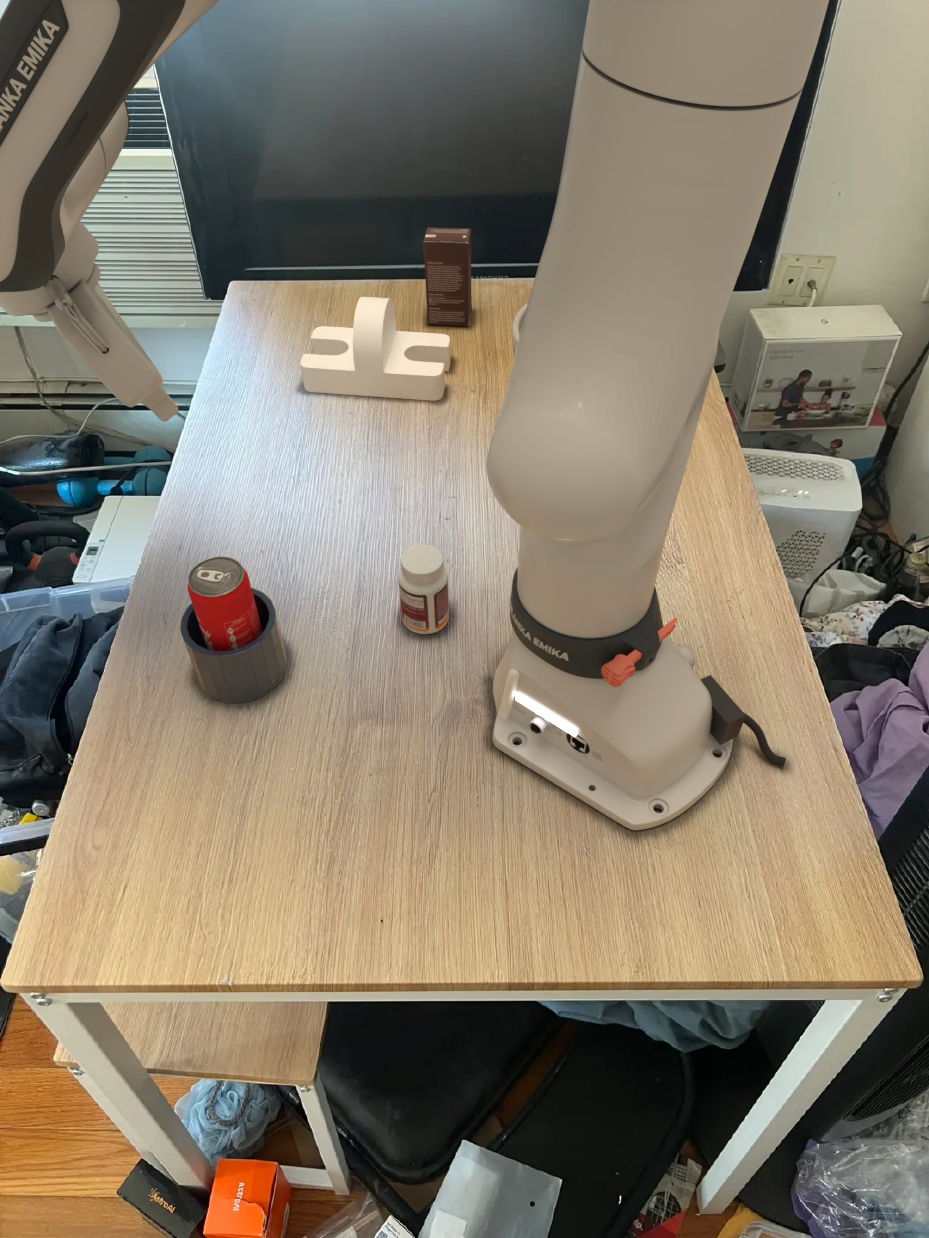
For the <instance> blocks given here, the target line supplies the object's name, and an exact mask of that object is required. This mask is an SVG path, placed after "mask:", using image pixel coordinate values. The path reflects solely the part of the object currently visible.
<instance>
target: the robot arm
mask: <svg viewBox="0 0 929 1238" xmlns="http://www.w3.org/2000/svg"><path fill="white" fill-rule="evenodd" d="M220 1H221V0H9V1H8V4H7V5H6V7H5V9H4V11H3V12H2V15H1V17H0V307H1V309H2V310H3V311H4V312H6V314H8V315H9V316H13V317H24V316H28V315H31V316H32V317H33V318H34V319H35V320H36V321H38V322H41V323H47V322H53V324H54V326H55V328H56V330H57V332H58V333H59V334H60V336H62V338H63V339H64V341H65V342H66V344H67V345H68V346H69V347H70V349H71V350H72V351H73V352H74V353H75V354H76V356H77V357H79V359H81V361H82V362H83V363H84V364H85V365H86V366H87V367H88V369H89V370H90V371H91V372H92V373H93V374H94V376H95V377H96V378H98V380H99V381H100V382H101V383H102V384H103V385H104V386H105V387H106V388H107V389H108V391H109V392H110V393H111V394H112V395H113V396H114V398H116V399H117V400H118V401H119V402H120V403H122V404H123V405H124V406H126V407H128V408H134V407H135V406H137V405H138V404H140V403H141V404H142V405H143V406H145V407H146V408H148V409H149V410H150V411H151V412H152V413H153V414H154V415H155V416H156V417H157V419H158V420H159V421H161V422H163V423H164V422H168V421H169V420H171V419H172V418H173V417H175V416H176V415H177V414H178V413H179V407H178V405H177V404H176V403H175V401H174V399H172V398H171V396H170V395H169V394H168V392H166V391H165V390H164V388H163V387H162V386H163V385H162V384H163V383H164V379H163V376H162V374H161V372H160V371H159V370H158V369H157V367H156V365H155V364H154V363H153V361H152V360H151V358H150V357H149V355H148V354H147V353H146V351H145V350H144V348H143V346H142V345H141V344H140V342H139V341H138V339H137V338H136V337H135V335H134V334H133V332H132V331H131V329H130V328H129V326H128V325H127V324H126V322H125V320H124V319H123V318H122V316H121V315H120V313H119V312H118V310H117V309H116V308H115V306H114V305H113V304H112V302H111V300H110V299H109V298H108V296H107V294H106V292H105V291H104V289H103V288H102V286H101V285H100V283H99V281H100V279H101V270H100V267H99V266H98V265H97V264H96V263H95V261H96V260H97V257H98V253H99V242H98V240H97V239H96V237H95V236H94V235H93V234H92V232H90V231H89V230H88V228H87V227H86V225H85V224H84V223H83V222H82V221H81V220H82V219H83V217H84V215H85V214H86V212H87V210H88V209H89V207H90V205H91V204H92V202H93V200H94V199H95V197H96V196H97V194H98V192H99V191H100V189H101V187H102V186H103V184H104V182H105V181H106V178H107V177H108V175H109V174H110V173H111V171H112V169H113V168H114V165H115V164H116V162H117V160H118V159H119V157H120V154H121V152H122V150H123V147H124V145H125V142H126V139H127V137H128V134H129V130H130V114H129V113H130V112H129V109H128V104H127V102H126V99H127V98H128V96H129V95H130V93H131V92H132V90H133V89H134V88H135V87H136V85H137V84H138V83H139V82H140V80H141V79H142V78H143V77H144V75H145V74H146V73H148V72H149V70H150V69H151V68H152V67H153V66H154V65H155V63H156V62H157V61H158V60H159V59H160V58H161V57H162V56H163V55H164V54H165V53H166V52H167V51H168V50H169V49H170V48H171V47H173V45H174V44H175V43H176V42H177V41H178V40H179V39H180V38H182V37H183V36H184V35H185V34H186V33H187V32H188V31H189V30H190V29H191V28H192V27H193V26H194V25H195V24H197V23H198V21H199V20H201V19H202V17H204V16H205V15H206V14H207V13H208V12H209V11H210V10H211V9H212V8H213V7H215V6H216V5H217V4H218V3H219V2H220ZM829 2H830V0H589V4H588V8H587V9H588V10H587V15H586V21H585V25H584V32H583V38H582V44H581V50H580V57H579V64H578V69H577V76H576V80H575V88H574V94H573V100H572V105H571V106H572V107H571V112H570V117H569V118H570V119H569V126H568V131H567V138H566V144H565V151H564V156H563V162H562V167H561V173H560V178H559V179H560V180H559V185H558V190H557V196H556V201H555V204H554V210H553V214H552V218H551V222H550V225H549V229H548V232H547V236H546V240H545V244H544V246H543V249H542V253H541V256H540V259H539V263H538V266H537V269H536V273H535V277H534V280H533V283H532V287H531V291H530V294H529V297H528V302H527V303H528V305H527V309H526V312H525V316H524V320H523V324H522V327H521V331H520V335H519V339H518V343H517V347H516V351H515V355H514V360H513V359H512V364H511V369H510V373H509V376H508V381H507V386H506V390H505V393H504V398H503V400H502V404H501V408H500V410H499V413H498V415H497V419H496V423H495V427H494V430H493V433H492V437H491V440H490V443H489V448H488V450H487V456H486V464H485V465H486V467H485V468H486V475H487V480H488V484H489V488H490V489H491V492H492V494H493V495H494V497H495V500H496V501H497V503H498V504H499V505H500V507H501V508H502V509H503V510H504V512H505V513H506V514H507V515H508V516H509V517H510V518H511V519H512V520H513V521H514V522H515V523H517V524H518V525H519V526H520V528H519V542H518V557H517V567H516V569H515V570H514V571H515V572H514V573H513V577H512V581H511V590H510V598H509V603H508V605H509V619H510V624H511V629H510V633H509V634H510V635H509V639H508V643H507V645H506V648H505V652H504V653H503V656H502V659H501V660H500V661H499V663H498V665H497V667H496V670H495V673H494V676H493V681H492V695H493V702H494V705H495V710H496V718H495V721H494V726H493V730H492V735H491V739H492V743H493V746H494V747H495V748H496V749H497V750H499V751H500V752H502V753H504V754H505V755H507V756H509V757H510V758H512V759H513V760H515V761H517V762H518V763H520V764H522V765H524V766H525V767H527V768H528V769H529V770H531V771H533V772H535V773H536V774H539V775H540V776H541V777H543V778H544V779H546V780H548V781H549V782H552V783H553V784H554V785H555V786H558V787H559V788H561V789H562V790H564V791H566V792H568V793H569V794H570V795H572V796H574V797H575V798H577V799H579V800H580V801H582V802H583V803H585V804H587V805H589V806H590V807H591V808H593V809H595V810H597V811H598V812H600V813H601V814H603V815H605V816H606V817H608V818H610V819H611V820H613V821H615V822H617V823H618V824H620V825H621V826H622V827H625V828H627V829H629V830H631V831H641V830H648V829H652V828H655V827H658V826H661V825H663V824H666V823H668V822H671V821H672V820H673V819H676V818H677V817H678V816H680V815H682V814H683V813H684V812H686V811H688V810H689V809H690V808H691V807H692V806H694V805H695V804H696V803H697V802H698V801H699V800H700V799H702V797H703V796H705V795H706V794H707V792H708V791H709V790H710V789H711V788H712V787H713V786H714V785H715V783H716V782H717V781H718V780H719V779H720V777H721V776H722V774H723V772H724V771H725V769H726V767H727V765H728V763H729V761H730V757H731V754H732V748H733V741H734V739H736V738H738V737H739V735H740V732H741V730H742V727H743V725H746V727H748V728H749V729H750V730H751V731H752V733H753V734H754V736H755V739H756V741H757V743H758V746H759V748H760V750H761V753H762V754H763V755H764V757H765V758H766V759H767V760H768V761H769V762H770V763H771V764H774V765H776V766H781V767H784V766H785V764H786V761H787V758H786V757H783V756H780V755H779V756H778V755H776V754H775V753H774V752H773V750H772V749H771V748H770V745H769V742H768V740H767V738H766V735H765V732H764V731H763V729H762V728H761V726H760V725H759V724H758V722H756V721H755V719H753V718H752V717H751V716H750V715H748V714H747V713H746V712H745V711H743V710H742V709H741V708H740V707H739V705H738V704H737V703H736V702H735V701H734V700H733V699H732V697H730V695H729V694H728V693H727V692H726V691H725V689H723V687H722V686H721V685H720V684H719V683H718V682H717V680H716V679H715V678H714V677H713V676H712V675H711V674H709V675H706V676H705V677H702V678H700V677H699V676H698V674H697V673H696V672H695V670H694V668H693V667H694V665H695V664H696V658H695V654H694V653H693V651H692V650H691V648H689V646H687V645H685V644H678V645H676V643H675V642H674V641H673V639H672V638H671V636H670V635H671V634H672V632H673V631H674V630H675V628H677V627H676V626H677V624H676V623H677V622H678V620H679V619H678V617H677V616H676V617H673V618H672V619H671V620H670V621H669V622H667V623H666V624H665V625H664V622H663V617H662V611H661V606H660V601H659V596H658V591H657V588H656V582H657V577H658V574H659V569H660V564H661V561H662V557H663V552H664V548H665V543H666V538H667V534H668V530H669V527H670V523H671V519H672V516H673V513H674V510H675V506H676V503H677V499H678V496H679V493H680V489H681V485H682V482H683V479H684V475H685V471H686V469H687V468H686V467H687V464H688V462H689V457H690V455H691V450H692V447H693V443H694V440H695V436H696V432H697V429H698V425H699V423H700V417H701V414H702V412H703V411H702V410H703V408H704V403H705V399H706V395H707V392H708V388H709V386H710V385H709V383H710V381H711V377H712V373H713V369H714V365H715V362H716V357H717V353H718V346H719V338H720V328H721V324H722V322H723V318H724V316H725V313H726V310H727V308H728V306H729V302H730V300H731V297H732V294H733V291H734V289H735V286H736V283H737V280H738V277H739V275H740V273H741V269H742V268H743V264H744V261H745V259H746V256H747V254H748V251H749V249H750V246H751V243H752V240H753V237H754V235H755V231H756V228H757V224H758V223H759V219H760V217H761V214H762V210H763V208H764V204H765V201H766V199H767V196H768V193H769V190H770V186H771V183H772V181H773V177H774V175H775V172H776V169H777V166H778V163H779V160H780V157H781V154H782V151H783V148H784V145H785V143H786V139H787V136H788V133H789V131H790V127H791V124H792V121H793V118H794V115H795V112H796V111H797V107H798V103H799V101H800V98H801V96H802V93H803V89H804V86H805V83H806V80H807V77H808V75H809V74H808V73H809V71H810V67H811V64H812V62H813V59H814V55H815V52H816V48H817V45H818V42H819V38H820V35H821V32H822V27H823V24H824V20H825V17H826V13H827V9H828V6H829ZM516 742H517V743H520V744H518V745H517V744H514V743H516ZM715 755H717V756H719V757H717V756H715ZM655 809H658V810H660V811H661V812H657V811H655Z"/></svg>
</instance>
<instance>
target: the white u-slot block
mask: <svg viewBox="0 0 929 1238" xmlns="http://www.w3.org/2000/svg"><path fill="white" fill-rule="evenodd" d="M395 309H396V307H395V304H394V300H393V299H392V298H390V297H378V296H377V297H376V296H375V297H374V296H360V297H359V299H358V300H357V303H356V307H355V311H354V317H353V327H344V326H343V327H341V326H330V325H329V326H327V325H322V326H318V327H315V328H314V329H313V331H312V333H311V336H310V343H311V353H303V354H302V357H301V359H300V362H299V364H300V365H299V366H300V369H301V371H300V372H301V377H302V383H303V389H304V390H305V391H306V392H309V393H319V394H320V393H321V394H334V395H345V396H346V395H348V396H349V395H350V396H361V397H362V396H363V397H375V398H376V397H377V398H390V399H404V400H417V401H418V400H419V401H431V402H432V401H434V402H435V401H439V400H441V399H442V398H443V396H444V394H445V389H446V381H445V380H446V378H445V377H446V376H445V372H449V371H450V367H451V338H450V337H451V336H450V335H448V334H446V333H434V332H420V331H419V332H418V331H407V330H406V331H404V330H397V317H396V310H395Z"/></svg>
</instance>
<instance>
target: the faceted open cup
mask: <svg viewBox="0 0 929 1238" xmlns="http://www.w3.org/2000/svg"><path fill="white" fill-rule="evenodd" d="M251 589H252V592H253V596H254V600H255V604H256V608H257V611H258V615H259V619H260V623H261V627H262V631H263V633H262V634H261V635H260V636H259V637H258V638H257V639H256V640H254V641H253V642H251V643H249V644H248V645H246V646H244V647H241V648H238V649H235V650H229V651H214V650H208V649H207V646H206V643H205V640H204V637H203V634H202V631H201V628H200V625H199V622H198V620H197V617H196V614H195V611H194V608H193V605H192V602H191V603H190V604H189V605H188V606H187V607H186V609H185V611H184V613H183V615H182V617H181V619H180V628H179V629H180V633H181V637H182V639H183V642H184V645H185V648H186V650H187V654H188V656H189V659H190V661H191V665H192V667H193V670H194V673H195V675H196V678H197V681H198V683H199V685H200V687H201V689H202V690H203V692H205V693H206V695H208V696H209V697H211V698H213V699H215V700H217V701H220V702H223V703H227V704H243V703H249V702H251V701H252V702H253V701H255V700H258V699H260V698H262V697H264V696H266V695H268V694H270V692H272V691H273V690H274V689H275V688H276V687H277V686H278V685H279V684H280V683H281V681H282V679H283V678H284V676H285V673H286V671H287V665H288V660H287V651H286V648H285V644H284V640H283V636H282V631H281V628H280V623H279V618H278V615H277V611H276V608H275V606H274V602H273V600H272V599H270V597H268V596H267V594H265V592H263V591H261V590H258V589H256V588H254V587H251Z"/></svg>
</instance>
